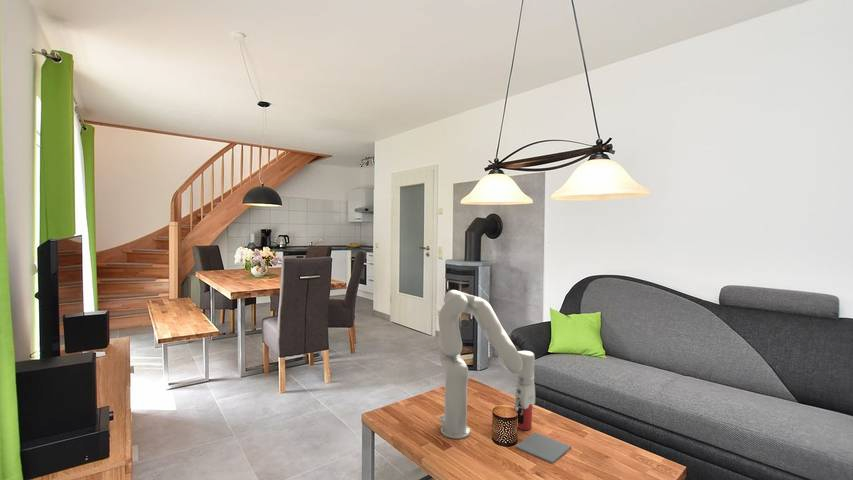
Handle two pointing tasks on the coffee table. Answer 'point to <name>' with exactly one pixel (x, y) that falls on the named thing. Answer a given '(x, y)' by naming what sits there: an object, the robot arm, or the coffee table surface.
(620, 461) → the coffee table surface
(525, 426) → the beer can
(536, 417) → the coffee table surface
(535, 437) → the slate mat
